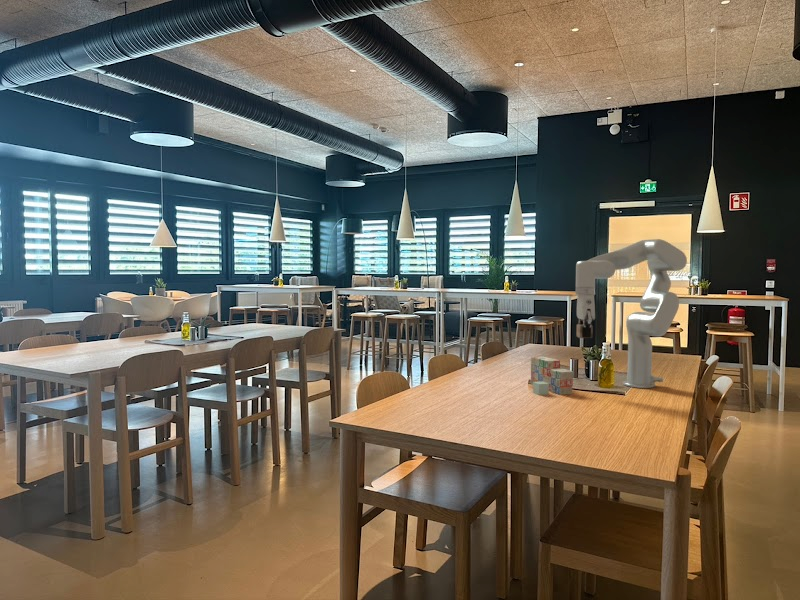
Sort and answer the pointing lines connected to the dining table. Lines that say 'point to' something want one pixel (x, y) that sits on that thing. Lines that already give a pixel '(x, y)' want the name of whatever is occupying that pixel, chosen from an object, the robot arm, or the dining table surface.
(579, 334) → the walnut cube
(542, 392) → the sage block
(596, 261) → the robot arm
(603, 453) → the dining table surface
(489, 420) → the dining table surface
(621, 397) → the dining table surface
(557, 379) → the stack of blocks
